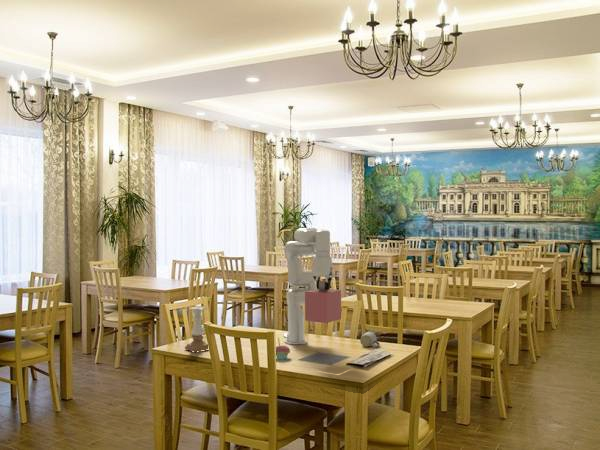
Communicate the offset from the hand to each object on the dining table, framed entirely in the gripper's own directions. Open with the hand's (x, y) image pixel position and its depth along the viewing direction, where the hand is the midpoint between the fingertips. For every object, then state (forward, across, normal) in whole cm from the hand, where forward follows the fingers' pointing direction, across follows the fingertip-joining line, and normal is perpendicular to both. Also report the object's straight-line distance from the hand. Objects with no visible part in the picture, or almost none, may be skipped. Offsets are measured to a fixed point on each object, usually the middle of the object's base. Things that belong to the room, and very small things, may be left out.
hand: (323, 289), depth 304 cm
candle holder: (+37, -72, -18) cm, 83 cm away
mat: (+36, 0, 0) cm, 36 cm away
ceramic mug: (+37, +6, +41) cm, 55 cm away
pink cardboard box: (+16, 0, 0) cm, 16 cm away
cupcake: (+37, -18, -11) cm, 43 cm away
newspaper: (+37, +22, +11) cm, 44 cm away
